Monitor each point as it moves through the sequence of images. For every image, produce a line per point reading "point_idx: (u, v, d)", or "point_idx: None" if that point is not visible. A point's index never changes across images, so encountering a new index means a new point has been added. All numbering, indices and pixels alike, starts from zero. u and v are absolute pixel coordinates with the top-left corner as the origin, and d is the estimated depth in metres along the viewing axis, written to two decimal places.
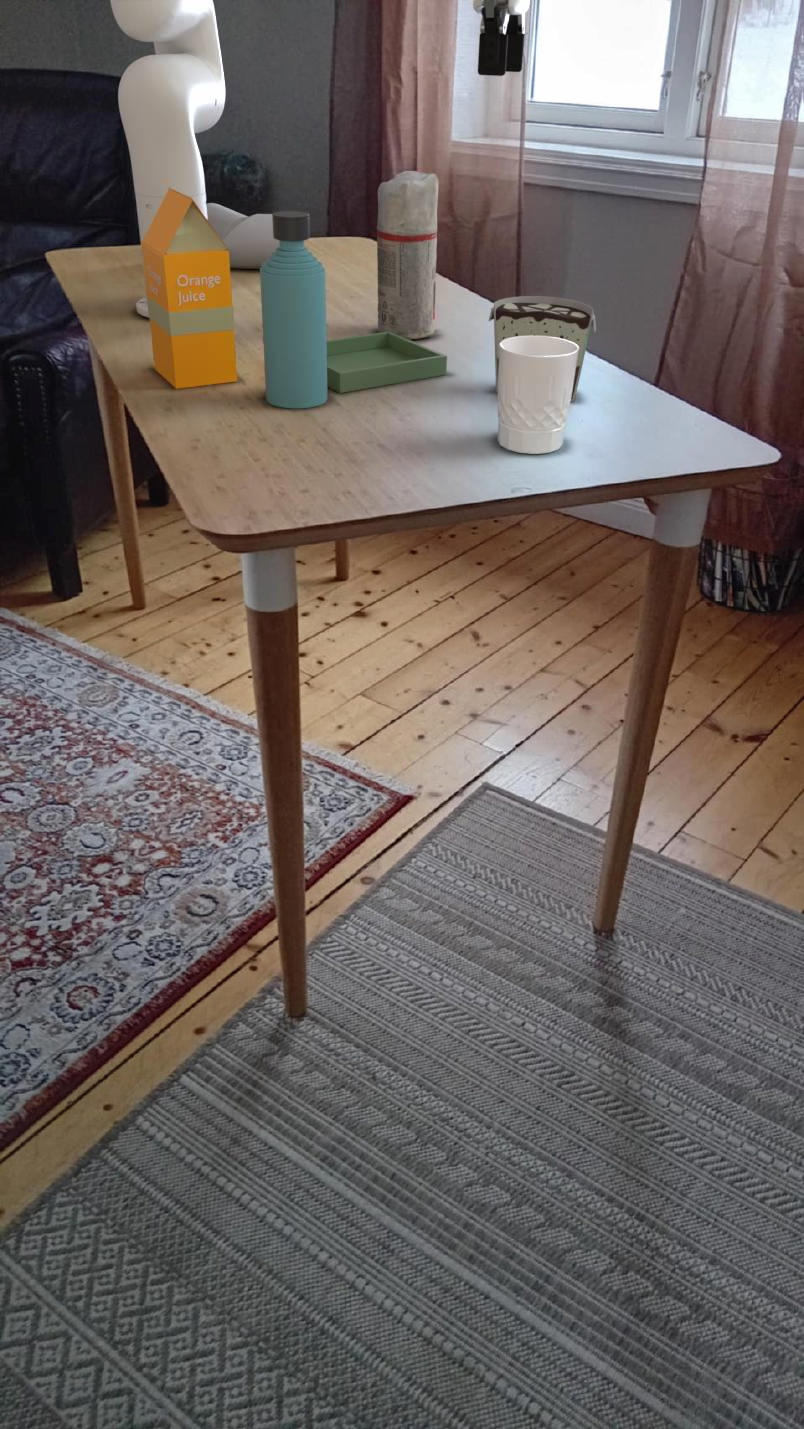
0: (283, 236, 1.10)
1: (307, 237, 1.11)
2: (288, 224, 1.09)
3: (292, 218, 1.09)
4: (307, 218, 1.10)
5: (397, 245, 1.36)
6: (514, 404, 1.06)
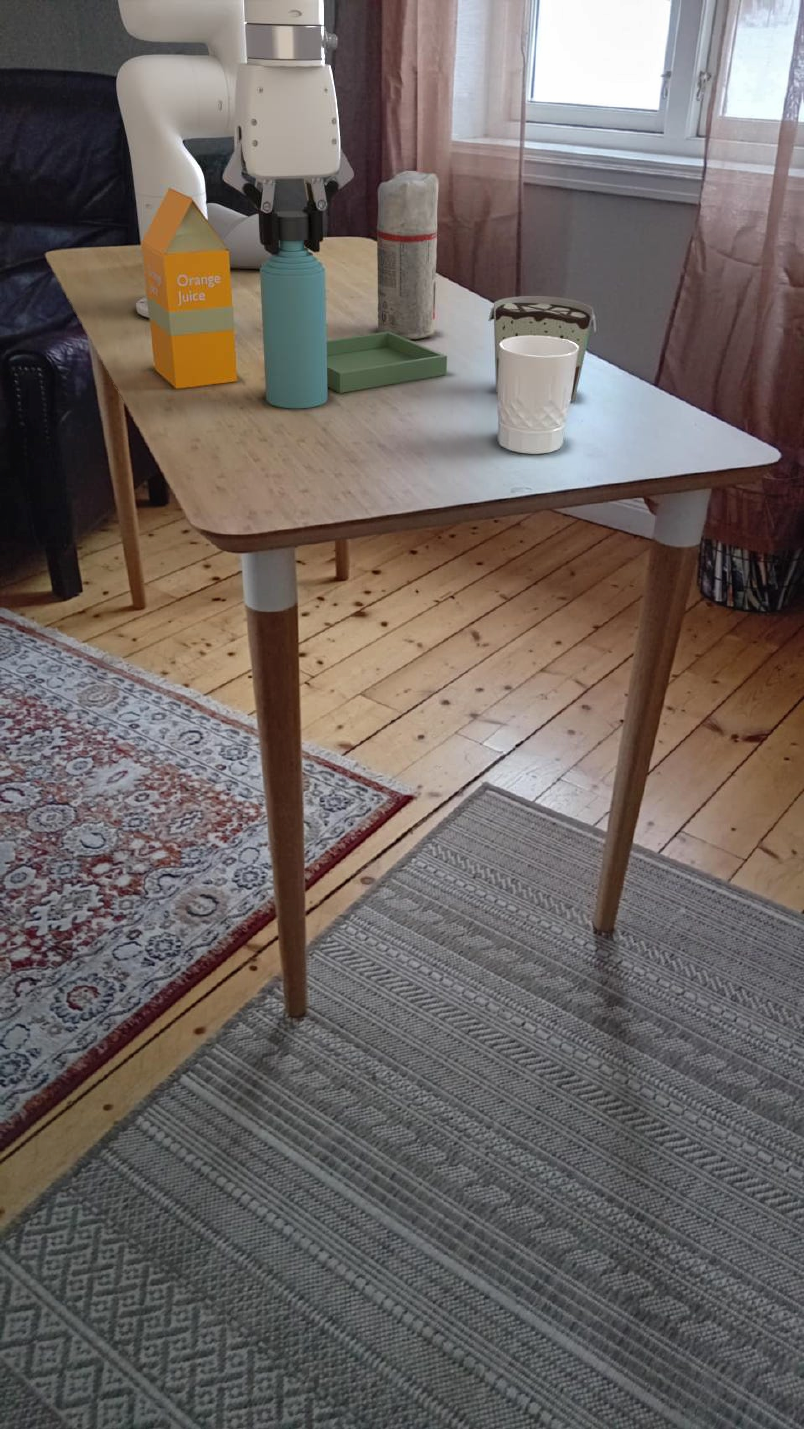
0: (283, 236, 1.10)
1: (307, 237, 1.11)
2: (288, 224, 1.09)
3: (292, 218, 1.09)
4: (307, 218, 1.10)
5: (397, 245, 1.36)
6: (514, 404, 1.06)
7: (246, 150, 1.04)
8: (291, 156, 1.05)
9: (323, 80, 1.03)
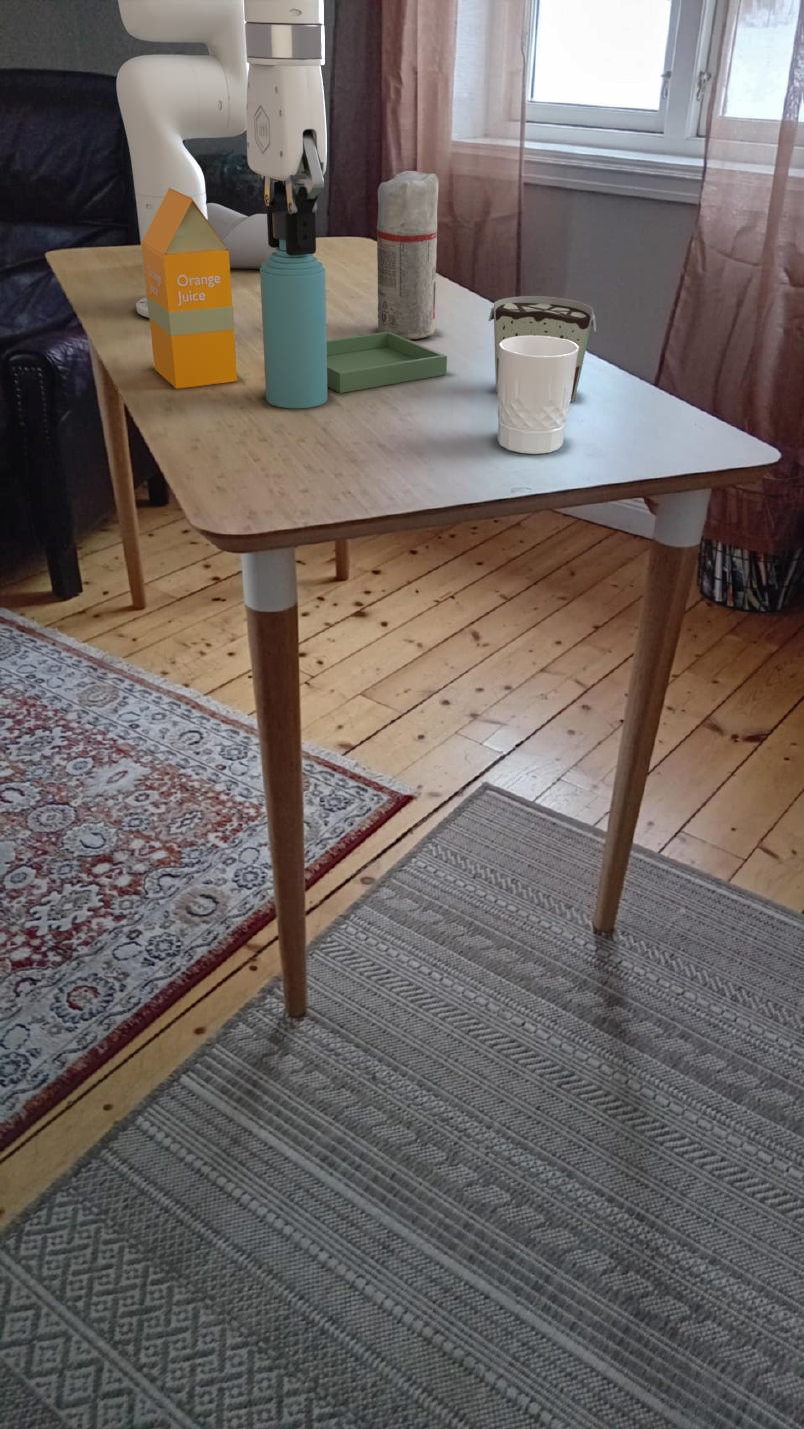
0: None
1: None
2: None
3: None
4: None
5: (397, 245, 1.36)
6: (514, 404, 1.06)
7: (324, 151, 1.04)
8: None
9: None
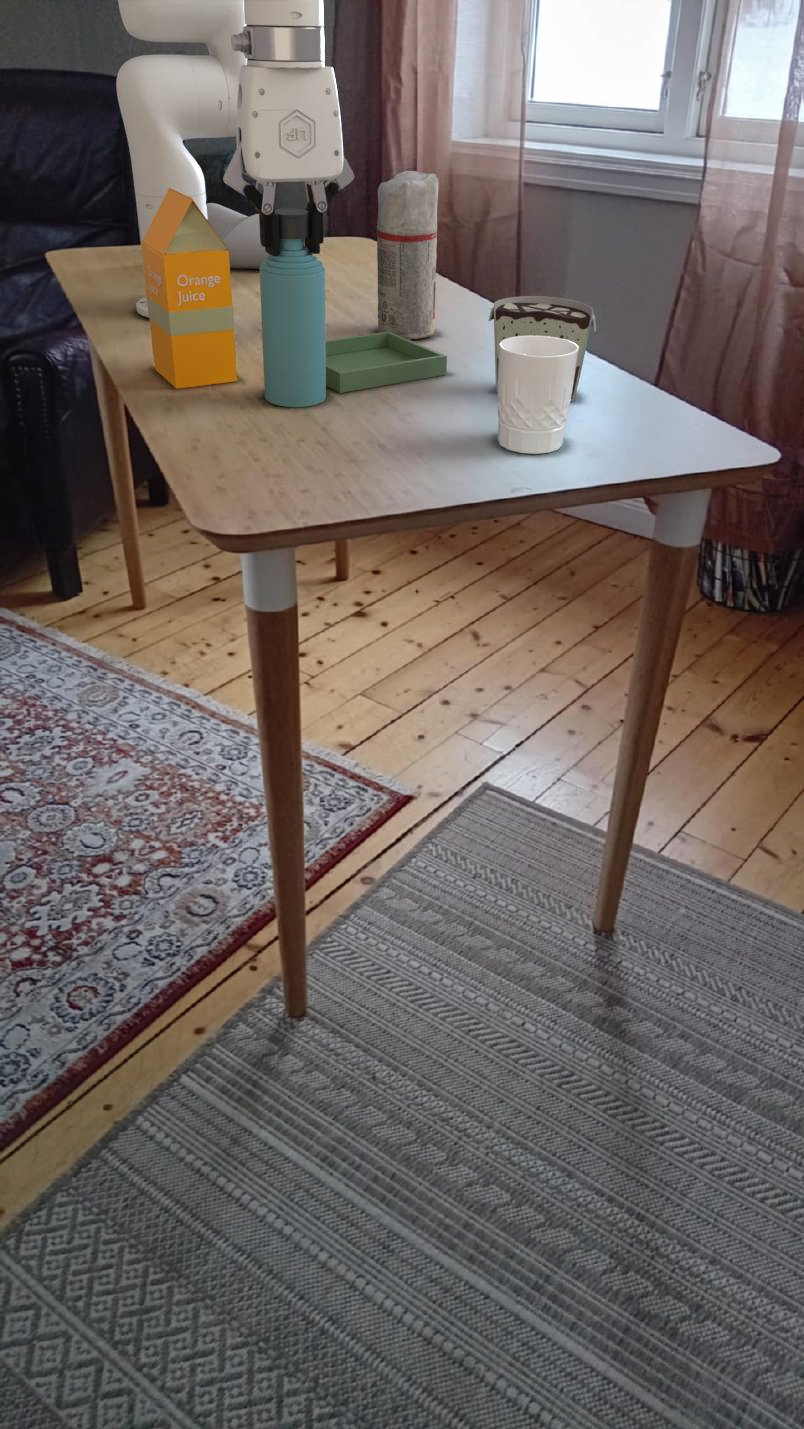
0: None
1: None
2: None
3: None
4: None
5: (397, 245, 1.36)
6: (514, 404, 1.06)
7: None
8: None
9: None
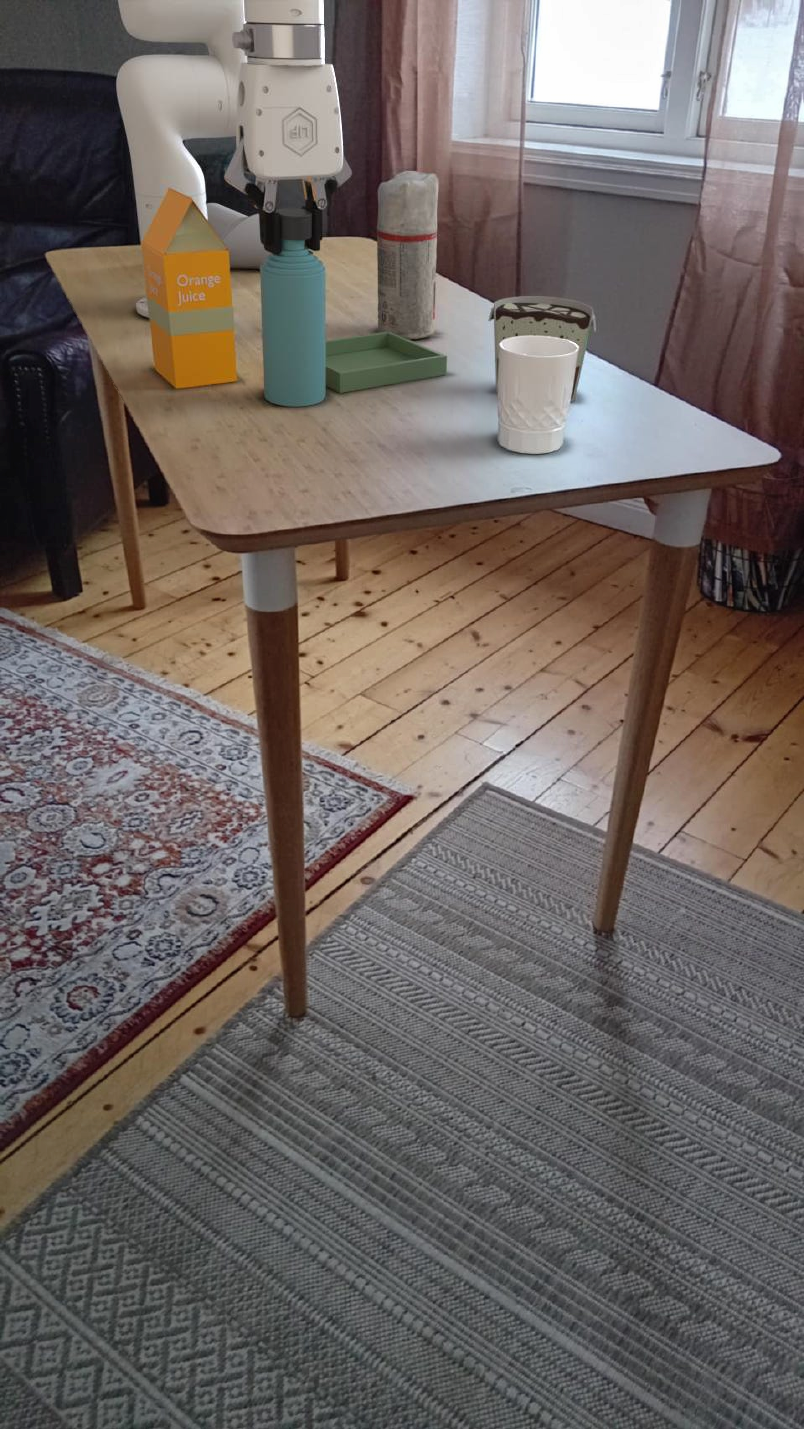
0: (287, 235, 1.09)
1: (310, 236, 1.11)
2: (292, 223, 1.09)
3: (296, 217, 1.08)
4: (310, 217, 1.10)
5: (397, 245, 1.36)
6: (514, 404, 1.06)
7: None
8: None
9: None
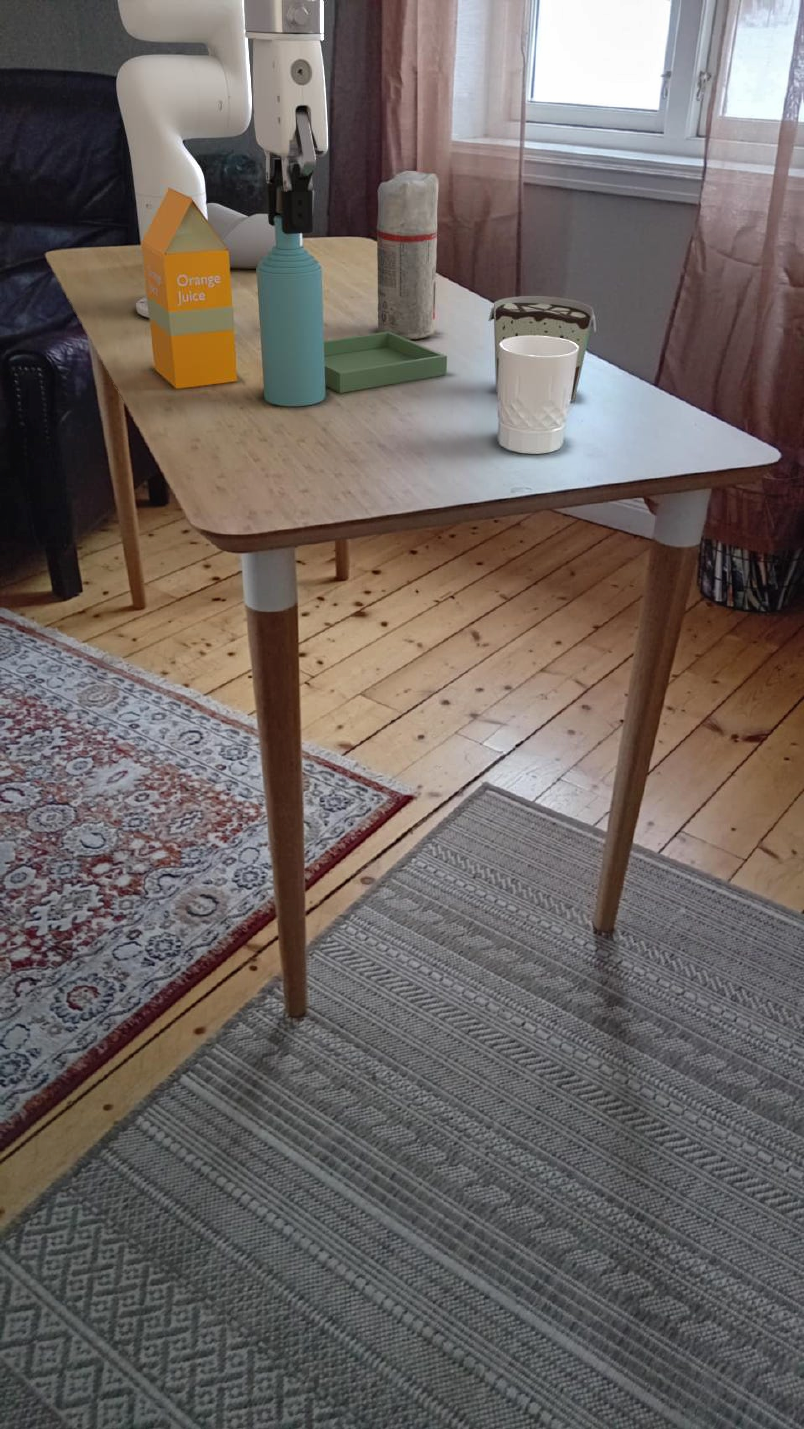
0: None
1: None
2: (313, 198, 1.10)
3: None
4: None
5: (397, 245, 1.36)
6: (514, 404, 1.06)
7: None
8: (264, 129, 1.06)
9: (272, 55, 0.99)
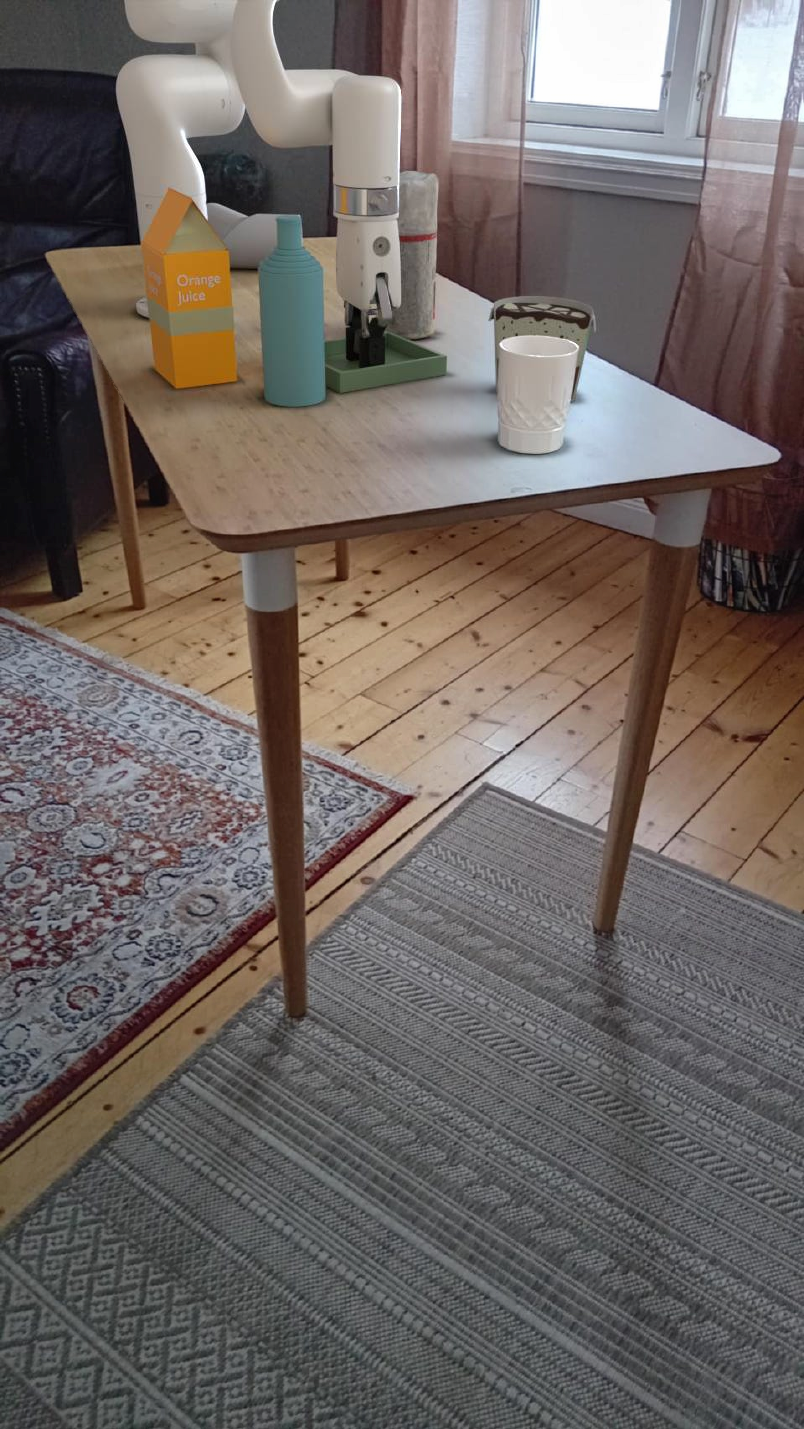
0: None
1: None
2: (385, 339, 1.30)
3: None
4: None
5: None
6: (514, 404, 1.06)
7: None
8: (346, 286, 1.26)
9: (357, 232, 1.19)
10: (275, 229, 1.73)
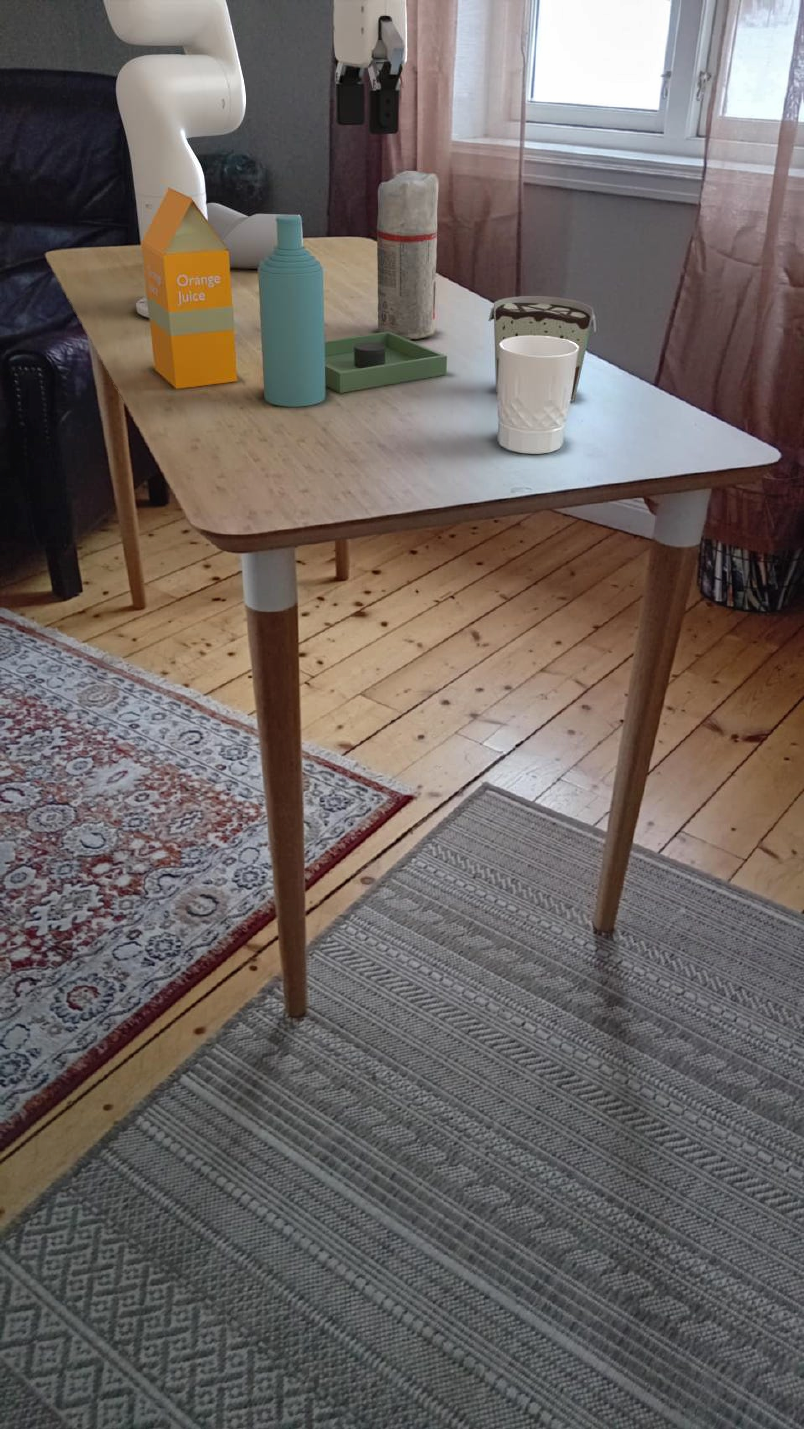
0: (384, 363, 1.31)
1: None
2: (384, 352, 1.30)
3: None
4: None
5: (397, 245, 1.36)
6: (514, 404, 1.06)
7: None
8: (345, 43, 1.12)
9: None
10: (275, 229, 1.73)
